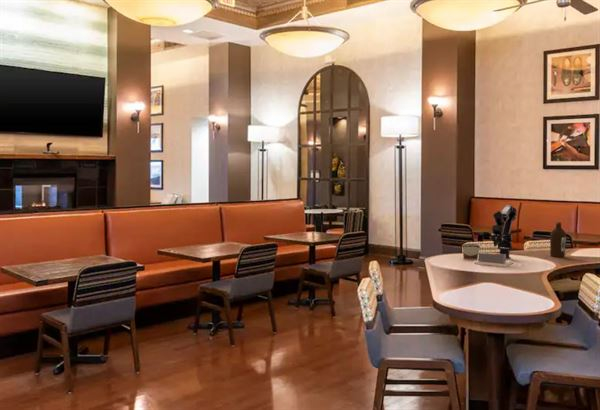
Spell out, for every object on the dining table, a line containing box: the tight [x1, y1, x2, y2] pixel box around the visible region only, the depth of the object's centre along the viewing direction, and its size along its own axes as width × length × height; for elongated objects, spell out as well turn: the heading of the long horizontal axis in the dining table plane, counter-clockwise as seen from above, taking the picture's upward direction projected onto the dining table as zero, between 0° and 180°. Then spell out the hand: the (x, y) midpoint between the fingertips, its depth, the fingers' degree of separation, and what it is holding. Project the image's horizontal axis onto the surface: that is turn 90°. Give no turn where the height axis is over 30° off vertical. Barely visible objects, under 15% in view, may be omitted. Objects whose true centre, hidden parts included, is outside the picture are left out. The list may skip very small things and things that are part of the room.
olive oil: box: [549, 221, 567, 258], centre depth 406 cm, size 11×11×25 cm
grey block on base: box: [474, 251, 514, 268], centre depth 373 cm, size 18×20×7 cm
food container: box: [461, 243, 481, 260], centre depth 393 cm, size 12×6×10 cm, turn 84°
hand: (494, 246), depth 373 cm, fingers closed
